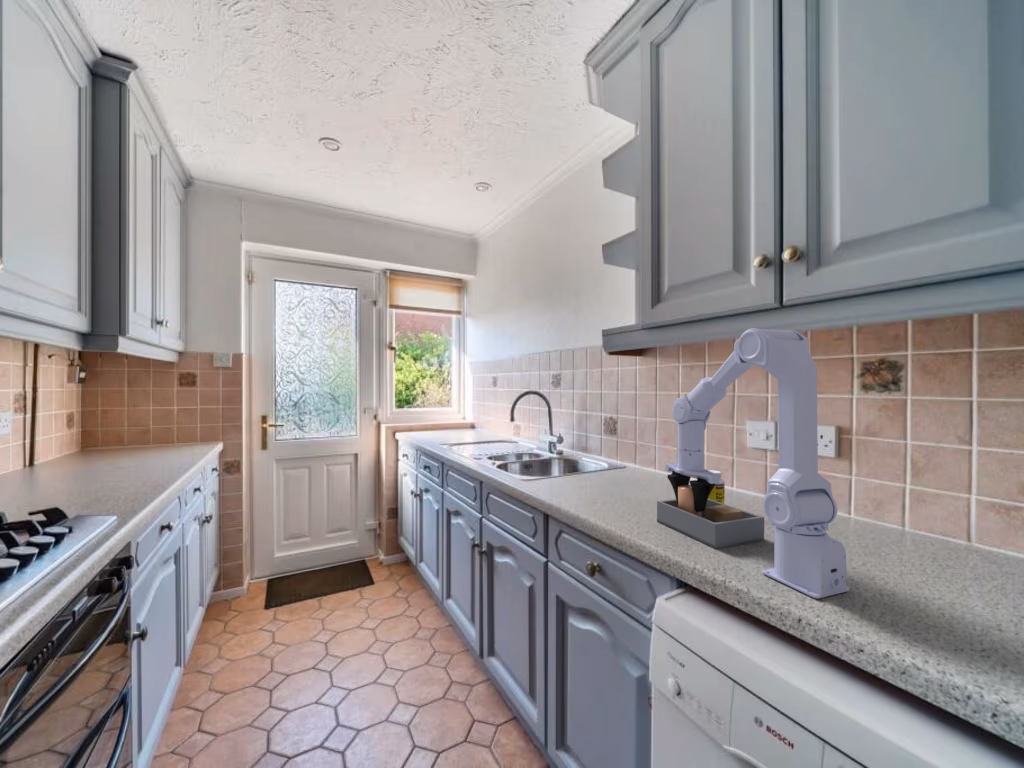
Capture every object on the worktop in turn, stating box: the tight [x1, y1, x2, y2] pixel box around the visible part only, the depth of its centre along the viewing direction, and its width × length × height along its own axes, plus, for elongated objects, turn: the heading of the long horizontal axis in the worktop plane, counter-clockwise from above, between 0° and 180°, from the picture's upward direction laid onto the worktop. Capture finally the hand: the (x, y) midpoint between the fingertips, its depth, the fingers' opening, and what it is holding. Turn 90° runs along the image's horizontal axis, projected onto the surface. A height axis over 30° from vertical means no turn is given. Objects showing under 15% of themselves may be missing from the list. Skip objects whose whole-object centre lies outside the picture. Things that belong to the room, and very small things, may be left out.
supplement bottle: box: [707, 469, 726, 504], centre depth 110 cm, size 6×6×10 cm
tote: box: [656, 498, 765, 550], centre depth 94 cm, size 18×14×5 cm
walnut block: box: [706, 505, 742, 523], centre depth 91 cm, size 5×5×5 cm
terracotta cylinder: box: [678, 484, 702, 517], centre depth 96 cm, size 5×5×7 cm
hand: (690, 507), depth 96 cm, fingers closed on terracotta cylinder, 5 cm apart
